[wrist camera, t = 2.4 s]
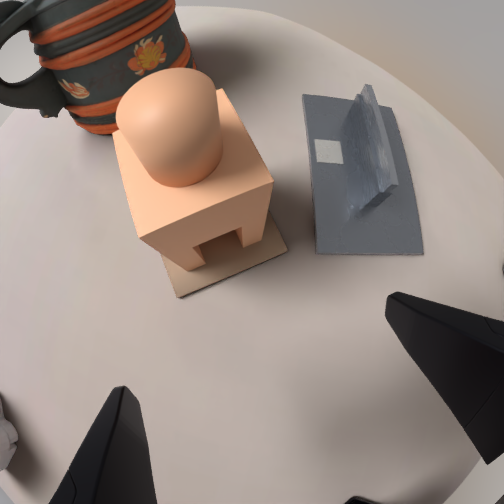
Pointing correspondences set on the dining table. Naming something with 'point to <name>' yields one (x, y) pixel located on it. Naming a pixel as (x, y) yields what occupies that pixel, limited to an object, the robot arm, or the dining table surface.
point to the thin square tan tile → (225, 259)
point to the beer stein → (91, 54)
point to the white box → (6, 440)
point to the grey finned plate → (359, 178)
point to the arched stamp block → (188, 165)
